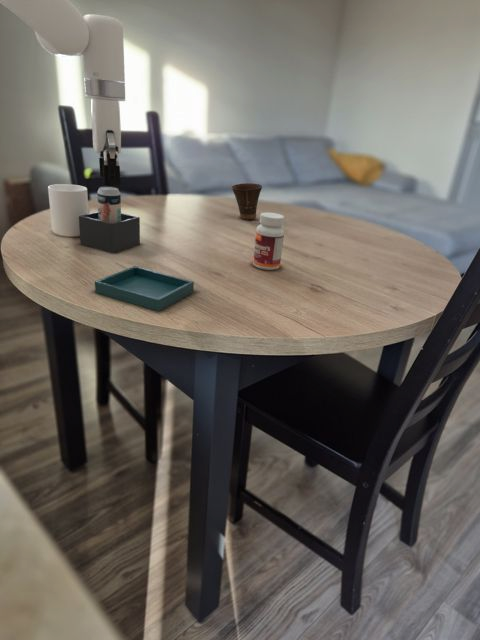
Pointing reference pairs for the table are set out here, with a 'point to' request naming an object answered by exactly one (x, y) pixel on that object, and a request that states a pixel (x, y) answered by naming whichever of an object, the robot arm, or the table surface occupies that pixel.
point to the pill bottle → (269, 241)
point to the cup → (247, 199)
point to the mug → (67, 208)
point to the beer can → (109, 204)
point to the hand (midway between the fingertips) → (110, 181)
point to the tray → (144, 287)
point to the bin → (109, 232)
